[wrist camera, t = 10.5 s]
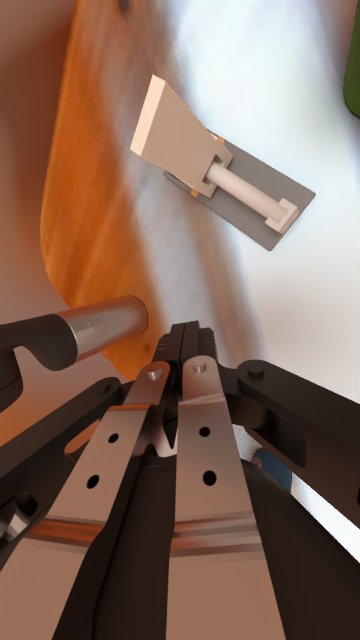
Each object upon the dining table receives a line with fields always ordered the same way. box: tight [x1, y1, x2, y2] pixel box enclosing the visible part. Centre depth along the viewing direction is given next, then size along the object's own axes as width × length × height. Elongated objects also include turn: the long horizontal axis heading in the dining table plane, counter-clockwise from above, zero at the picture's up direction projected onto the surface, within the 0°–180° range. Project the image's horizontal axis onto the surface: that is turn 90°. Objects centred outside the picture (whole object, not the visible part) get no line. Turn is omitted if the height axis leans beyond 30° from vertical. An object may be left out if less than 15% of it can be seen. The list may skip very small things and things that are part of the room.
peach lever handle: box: [130, 75, 233, 198], centre depth 24 cm, size 4×6×16 cm
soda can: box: [251, 450, 292, 494], centre depth 35 cm, size 7×7×12 cm
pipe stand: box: [163, 129, 316, 251], centre depth 29 cm, size 22×8×6 cm, turn 56°
